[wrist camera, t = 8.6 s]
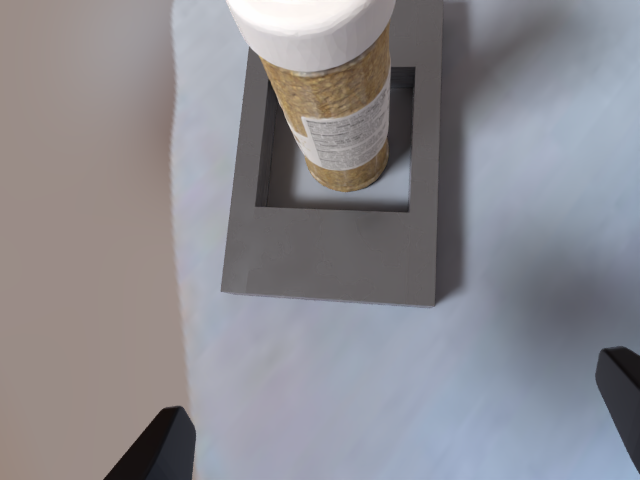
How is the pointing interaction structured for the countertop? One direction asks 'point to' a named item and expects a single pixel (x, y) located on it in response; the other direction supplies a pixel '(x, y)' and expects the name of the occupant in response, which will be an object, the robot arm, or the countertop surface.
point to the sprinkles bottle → (327, 80)
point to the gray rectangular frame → (342, 225)
